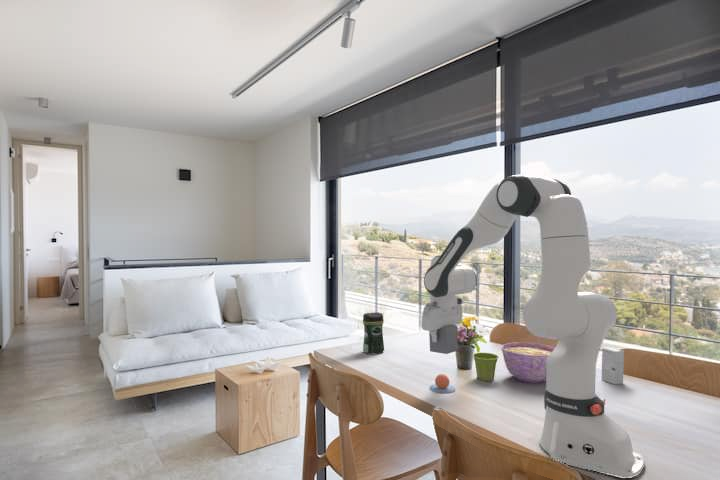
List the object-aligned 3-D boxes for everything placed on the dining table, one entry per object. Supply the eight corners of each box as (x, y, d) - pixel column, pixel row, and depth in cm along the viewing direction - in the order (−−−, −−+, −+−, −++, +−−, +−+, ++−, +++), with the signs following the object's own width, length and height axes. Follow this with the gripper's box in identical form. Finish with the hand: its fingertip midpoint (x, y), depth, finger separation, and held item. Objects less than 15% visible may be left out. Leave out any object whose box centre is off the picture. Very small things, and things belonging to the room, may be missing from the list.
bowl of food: (568, 388, 152) (568, 355, 152) (512, 388, 152) (512, 355, 152) (544, 371, 172) (544, 342, 172) (494, 371, 172) (494, 342, 172)
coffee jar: (379, 349, 208) (378, 310, 208) (386, 353, 200) (386, 313, 200) (360, 351, 204) (360, 312, 204) (367, 355, 196) (367, 314, 197)
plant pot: (500, 383, 157) (499, 359, 157) (473, 381, 159) (473, 358, 159) (497, 375, 166) (497, 353, 166) (472, 374, 168) (472, 352, 168)
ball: (438, 374, 156) (444, 388, 154) (430, 378, 152) (435, 392, 151) (448, 370, 153) (454, 384, 151) (440, 374, 149) (446, 388, 148)
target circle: (460, 388, 152) (460, 388, 152) (445, 395, 145) (445, 394, 145) (439, 382, 158) (439, 382, 158) (424, 388, 152) (424, 388, 152)
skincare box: (600, 379, 161) (600, 347, 161) (610, 378, 162) (610, 346, 162) (615, 385, 155) (614, 351, 155) (624, 383, 156) (624, 350, 157)
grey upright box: (458, 350, 151) (457, 325, 151) (446, 354, 146) (445, 328, 147) (441, 347, 156) (440, 323, 156) (430, 351, 151) (429, 326, 152)
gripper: (432, 304, 142) (432, 346, 142) (465, 298, 157) (465, 336, 156) (417, 302, 147) (417, 343, 147) (450, 297, 161) (450, 334, 161)
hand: (442, 339), depth 152 cm, fingers closed on grey upright box, 7 cm apart
